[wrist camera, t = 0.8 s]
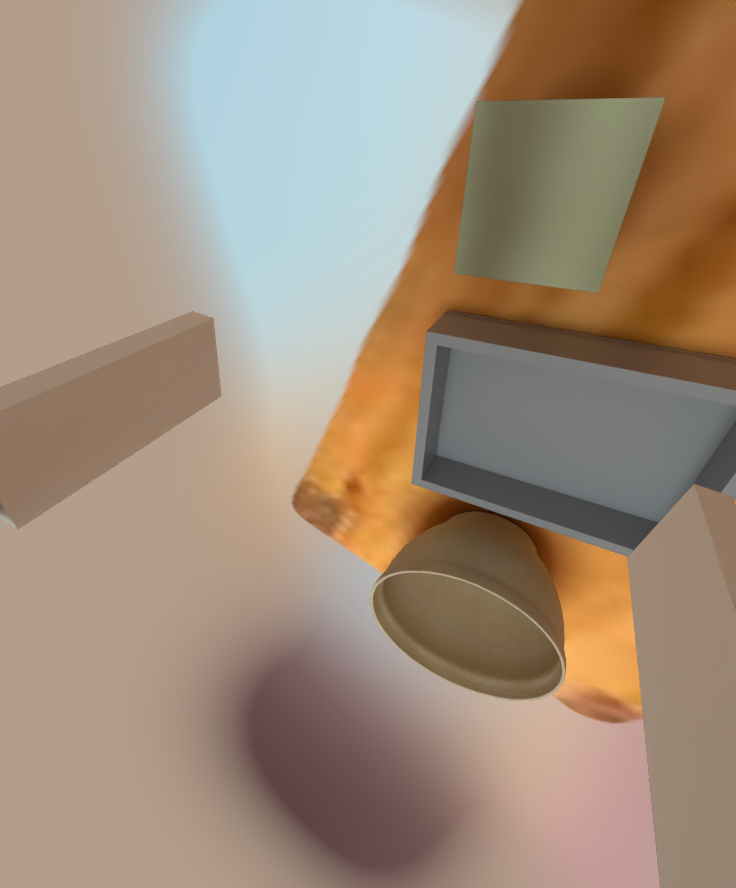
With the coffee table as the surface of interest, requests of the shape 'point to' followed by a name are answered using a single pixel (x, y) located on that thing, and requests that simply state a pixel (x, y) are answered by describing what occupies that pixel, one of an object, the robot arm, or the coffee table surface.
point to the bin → (571, 426)
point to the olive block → (551, 187)
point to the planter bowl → (475, 608)
